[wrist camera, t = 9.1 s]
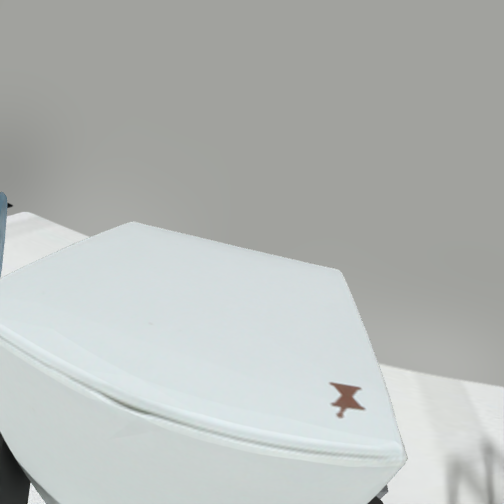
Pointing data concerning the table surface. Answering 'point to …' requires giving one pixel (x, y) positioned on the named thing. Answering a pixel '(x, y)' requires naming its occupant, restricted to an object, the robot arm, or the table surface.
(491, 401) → the table surface
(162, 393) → the supplement box
